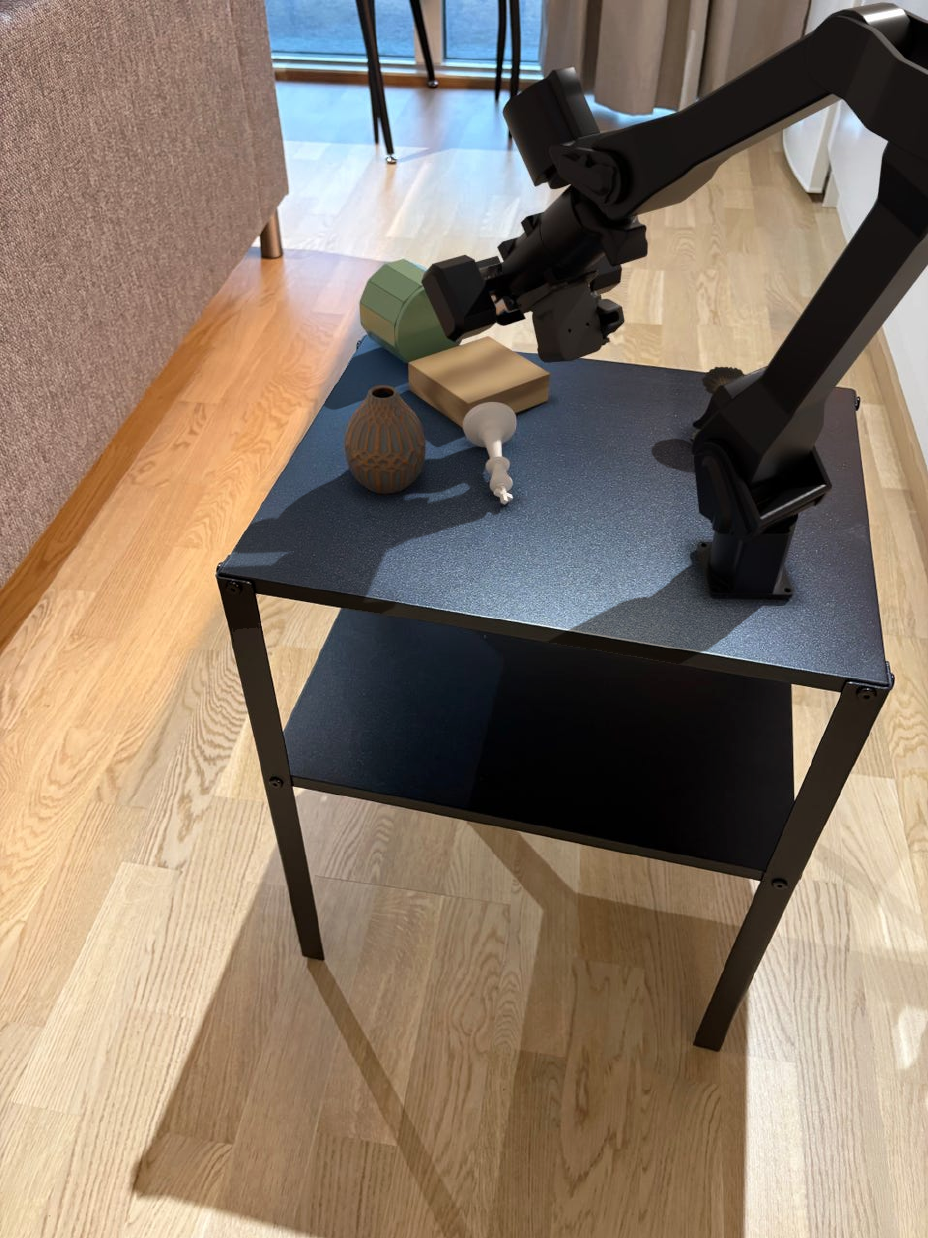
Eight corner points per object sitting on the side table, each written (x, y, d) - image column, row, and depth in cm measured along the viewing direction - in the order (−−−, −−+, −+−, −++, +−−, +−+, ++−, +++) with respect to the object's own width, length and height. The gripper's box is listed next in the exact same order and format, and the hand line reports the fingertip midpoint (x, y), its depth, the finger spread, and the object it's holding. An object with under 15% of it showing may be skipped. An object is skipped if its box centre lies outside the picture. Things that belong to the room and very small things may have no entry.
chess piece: (483, 393, 88) (498, 473, 82) (527, 414, 91) (545, 493, 85) (451, 430, 91) (464, 510, 85) (494, 450, 94) (509, 528, 88)
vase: (430, 462, 91) (429, 374, 85) (420, 506, 85) (419, 415, 80) (355, 457, 91) (349, 369, 85) (340, 500, 86) (333, 410, 80)
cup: (447, 264, 98) (406, 241, 102) (383, 327, 97) (345, 301, 101) (480, 326, 105) (441, 302, 109) (421, 385, 104) (384, 359, 108)
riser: (548, 400, 99) (550, 373, 97) (467, 431, 95) (468, 403, 93) (487, 362, 105) (488, 335, 103) (408, 389, 100) (407, 362, 98)
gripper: (521, 361, 76) (437, 427, 90) (692, 301, 85) (591, 369, 99) (460, 225, 76) (386, 312, 90) (639, 178, 84) (545, 265, 98)
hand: (483, 318), depth 94 cm, fingers closed
